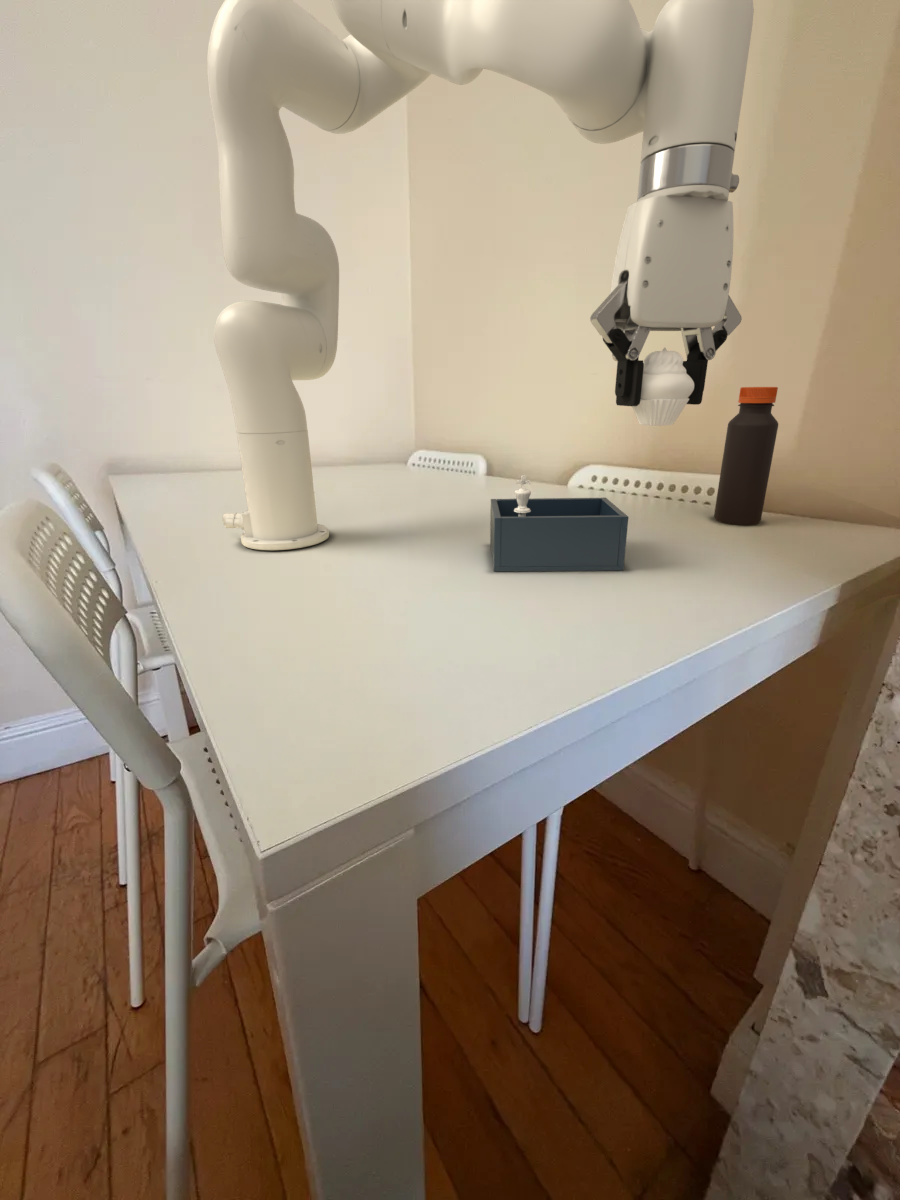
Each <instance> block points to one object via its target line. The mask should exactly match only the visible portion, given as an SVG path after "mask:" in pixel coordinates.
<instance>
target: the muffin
mask: <svg viewBox="0 0 900 1200" xmlns="http://www.w3.org/2000/svg"><path fill="white" fill-rule="evenodd" d="M683 361H684V358H683V356H682V355H681V353H679V352H677V351H676V350H667V348H666V347H663V349H662V350H655V351H652V352H650V353H648V355H646V356H645V358H644V359H643V363H644V369H643V379H642V389H641V398H640V404H639V405H638V406H631V407H632V409H633V412H634V415H635V417H636V419H637V420H636V421H637V422H638V425H641V426H656V427H657V426H659V427H661V426H672V425H674V424H675V422H677V420H678V418H679V416H680V415H681V413H682V412H683V410H684V409H685V407H686V405H688V404H687V402H688V401H689V398H688V397H689V396H690V395H691V393H692V392H693V390H694V382H693V380H692V378H691V377H690V376H689V375H688V374H687V373H686V369H685V368H684V366H683Z"/></svg>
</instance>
